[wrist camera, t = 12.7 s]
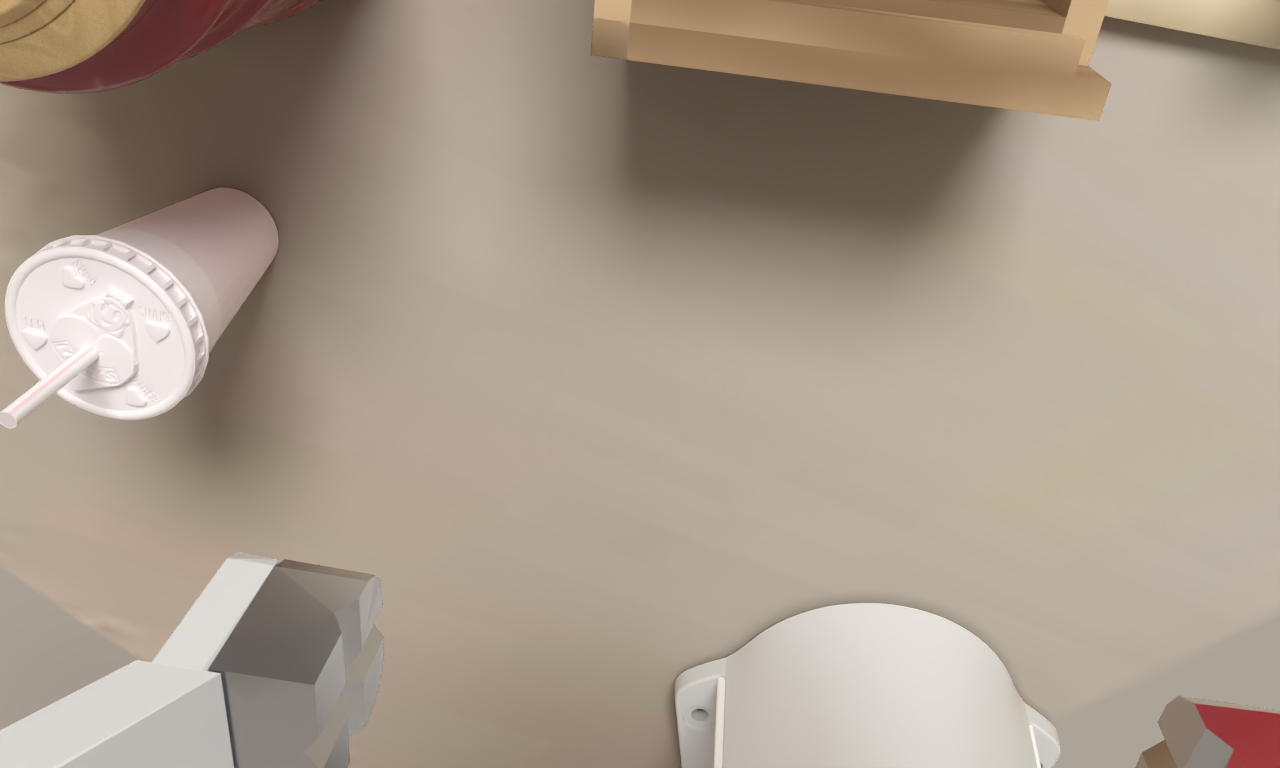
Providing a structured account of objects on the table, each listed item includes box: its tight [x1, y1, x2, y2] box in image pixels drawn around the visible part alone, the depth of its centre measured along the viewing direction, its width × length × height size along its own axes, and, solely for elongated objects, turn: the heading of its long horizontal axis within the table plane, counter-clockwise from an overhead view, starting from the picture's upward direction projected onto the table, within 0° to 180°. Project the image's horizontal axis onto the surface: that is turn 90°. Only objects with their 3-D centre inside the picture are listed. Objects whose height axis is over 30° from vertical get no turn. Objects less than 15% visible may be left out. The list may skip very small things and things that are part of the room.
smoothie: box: [0, 188, 279, 428], centre depth 35 cm, size 6×6×14 cm
